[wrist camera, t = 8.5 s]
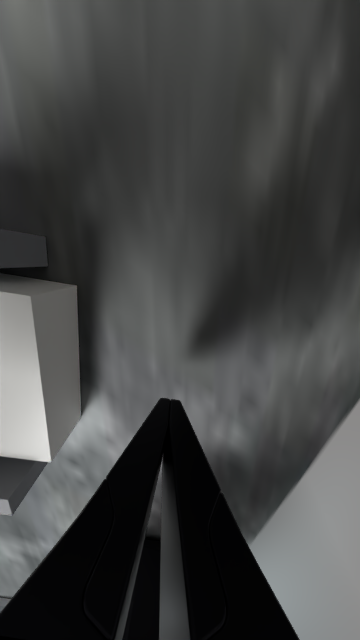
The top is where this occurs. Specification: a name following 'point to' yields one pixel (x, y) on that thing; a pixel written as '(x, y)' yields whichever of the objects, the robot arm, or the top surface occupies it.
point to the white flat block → (38, 366)
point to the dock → (5, 472)
